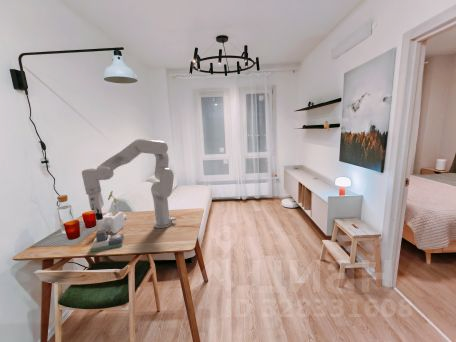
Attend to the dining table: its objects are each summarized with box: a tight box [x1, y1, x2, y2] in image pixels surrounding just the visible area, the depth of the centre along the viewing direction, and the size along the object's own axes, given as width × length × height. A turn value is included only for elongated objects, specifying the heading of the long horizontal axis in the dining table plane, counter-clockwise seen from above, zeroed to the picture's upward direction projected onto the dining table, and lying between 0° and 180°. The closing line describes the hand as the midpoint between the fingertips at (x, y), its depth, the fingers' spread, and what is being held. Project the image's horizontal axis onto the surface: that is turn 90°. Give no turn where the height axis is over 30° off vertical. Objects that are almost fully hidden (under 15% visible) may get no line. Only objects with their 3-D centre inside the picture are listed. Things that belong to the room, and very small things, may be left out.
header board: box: [90, 233, 125, 253], centre depth 132 cm, size 16×12×4 cm
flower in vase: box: [107, 190, 127, 220], centre depth 165 cm, size 13×11×25 cm
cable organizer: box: [96, 211, 126, 234], centre depth 149 cm, size 15×11×12 cm
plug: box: [95, 229, 108, 242], centre depth 130 cm, size 5×4×8 cm
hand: (99, 219), depth 128 cm, fingers closed
